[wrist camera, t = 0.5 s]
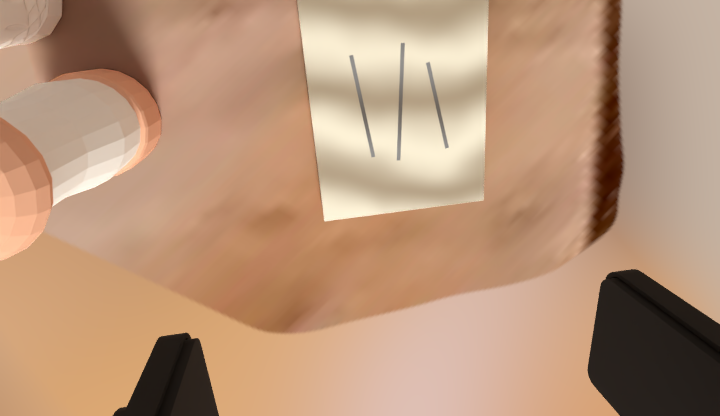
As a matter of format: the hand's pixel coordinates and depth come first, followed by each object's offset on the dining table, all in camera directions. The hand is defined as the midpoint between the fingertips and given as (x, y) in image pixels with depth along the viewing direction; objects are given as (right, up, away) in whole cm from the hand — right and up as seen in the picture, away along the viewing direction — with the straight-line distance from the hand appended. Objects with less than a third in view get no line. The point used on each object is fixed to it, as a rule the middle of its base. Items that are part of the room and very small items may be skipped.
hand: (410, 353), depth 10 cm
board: (+2, +13, +25) cm, 28 cm away
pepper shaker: (-20, +10, +23) cm, 32 cm away
